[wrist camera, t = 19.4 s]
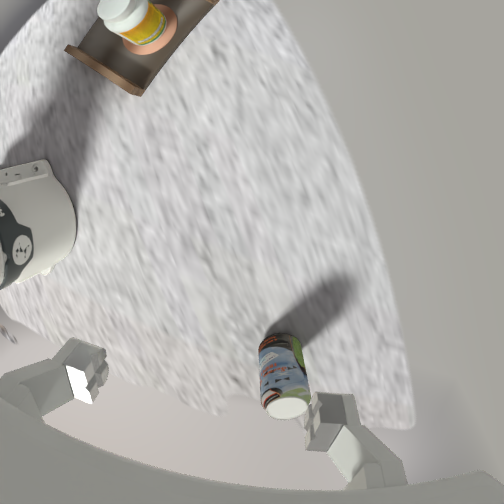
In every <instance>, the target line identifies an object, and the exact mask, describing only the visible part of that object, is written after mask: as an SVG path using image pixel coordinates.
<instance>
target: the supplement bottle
mask: <svg viewBox="0 0 504 504" xmlns="http://www.w3.org/2000/svg"><path fill="white" fill-rule="evenodd" d="M97 13H98V16H99V17H100V18H102V19H103V20H104V24H105V26H106V27H107V28H108V29H109V30H110V31H112V32H114V33H115V34H117V35H119V36H121V37H123V38H125V39H126V40H128V41H130V42H131V43H133V44H135V45H139V46H145V45H148V44H151V43H153V42H155V41H157V40H158V39H159V38H160V37H161V36H162V35H163V33H164V31H165V29H166V24H167V22H166V18H165V16H164V15H163V13H162V12H161V11H160V10H158V9H157V8H156V7H155V6H154V5H153V4H152V3H151V2H150V1H149V0H100V2H99V4H98V7H97Z"/></svg>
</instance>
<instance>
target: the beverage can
mask: <svg viewBox="0 0 504 504" xmlns="http://www.w3.org/2000/svg"><path fill="white" fill-rule="evenodd" d="M258 350H259V372H260V392H261V404H262V406H263V408H264V409H265V410H266V412H267V414H268V415H269V416H270V417H271V418H273V419H277V420H291V419H295V418H298V417H300V416H301V415H303V414H304V413H305V412H306V410H307V407H308V405H309V403H310V399H311V394H310V389H309V384H308V379H307V374H306V369H305V364H304V359H303V354H302V349H301V344H300V342H299V341H298V339H297V338H295V337H294V336H292V335H289V334H275V335H271V336H269V337H267V338H266V339H264V340H263V341H262V342H261V344H260V346H259V349H258Z"/></svg>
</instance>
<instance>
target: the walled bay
mask: <svg viewBox="0 0 504 504" xmlns="http://www.w3.org/2000/svg"><path fill="white" fill-rule="evenodd" d="M149 1H150V2H151V3H152V4H153V5H154V6H155V7H156V8H157V9H158V10H160V11H161V12H162V13H163V15H164V16H165V18H166V22H167V24H166V29H165V31H164V33H163V35H162V36H161V37H160V38H159V39H158V40H157V41H155V42H153V43H151V44H148V45H145V46H139V45H135V44H133V43H131V42H130V41H128V40H126V39H125V38H123V37H121V36H119V35H117V34H115V33H114V32H112V31H110V30H109V29H108V28H107V27H106V26H105V24H104V20H103V19H102V18H100V17H99V18H98V19H97V20H96V22H95V23H94V25H93V26H92V27H91V29H90V30H89V32H88V33H87V34H86V36H85V37H84V39H83V40H82V42H81V43H80V45H79V46H78V48H77V47H74V46H71V45H67V47H66V48H65V50H64V51H65V52H67V53H69V54H70V55H72V56H73V57H75V58H77V59H78V60H80V61H81V62H83V63H84V64H86V65H88V66H89V67H91V68H92V69H94V70H95V71H97V72H98V73H100V74H101V75H103V76H104V77H106V78H107V79H109V80H110V81H112V82H113V83H115V84H116V85H118V86H119V87H121V88H122V89H124V90H125V91H127V92H128V93H130V94H132V95H136V96H140V97H141V96H142V94H143V93H144V91H145V90H146V89H147V87H148V86H149V84H150V83H151V82H152V80H153V79H154V77H155V76H156V75H157V73H158V72H159V71H160V69H161V68H162V67H163V65H164V64H165V63H166V61H167V60H168V59H169V58H170V56H171V55H172V54H173V53H174V51H175V50H176V49H177V48H178V46H179V45H180V44H181V43H182V42H183V40H184V39H185V38H186V37H187V36H188V34H189V33H190V32H191V31H192V30H193V29H194V27H195V26H196V25H197V24H198V23H199V22H200V21H201V20H202V19H203V17H204V16H205V15H206V14H207V13H208V12H209V11H210V10H211V9H212V8H213V7H214V6H215V5H216V4H217V3H218V1H219V0H149Z"/></svg>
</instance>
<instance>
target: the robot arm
mask: <svg viewBox="0 0 504 504" xmlns="http://www.w3.org/2000/svg"><path fill="white" fill-rule="evenodd" d="M37 167H38V170H37ZM75 236H76V218H75V213H74V209H73V205H72V202H71V200H70V198H69V196H68V194H67V192H66V190H65V189H64V187H63V186H62V185H61V184H60V183H59V182H58V180H57V179H56V178H55V176H54V175H53V172H52V169H51V167H50V164H49V163H48V161H47V160H45V159H43V160H38V161H34V162H29V163H25V164H21V165H17V166H13V167H9V168H5V169H1V170H0V290H1V289H4V288H6V287H8V286H9V285H11V284H12V282H16V283H22V282H24V281H26V280H27V279H29V278H31V277H33V276H35V275H37V274H39V273H40V274H42V275H44V276H46V275H48V274H50V273H51V272H52V270H53V269H54V266H55V265H56V264H57V263H58V262H60V261H61V260H63V259H64V258H66V257H67V255H68V254H69V253H70V251H71V249H72V247H73V245H74V241H75ZM106 356H107V355H106V350H105V349H104V348H102V347H99V346H96V345H93V344H90V343H88V342H85V341H82V340H79V339H76V338H74V337H73V338H70V339H69V340H68V341H67V342H66V344H65V345H64V346H63V347H62V348H61V349H60V350H59V352H58V353H57V354H56V355H55V356H54V357H53V358H52V360H51V359H46V360H43V361H41V362H37V363H34V364H31V365H28V366H25V367H22V368H20V369H17V370H14V371H11V372H8V373H5V374H4V375H3V376H2V377H1V378H0V504H504V485H503V484H502V483H501V482H499V481H498V480H497V479H496V478H494V477H493V476H492V475H490V474H488V473H487V472H485V471H483V470H477V471H472V472H469V473H465V474H461V475H456V476H453V477H448V478H443V479H439V480H433V481H428V482H422V483H416V484H410V485H408V483H407V479H406V475H405V471H404V467H403V463H402V460H400V458H398V457H397V456H396V455H395V454H394V453H393V452H392V451H391V450H390V449H389V448H388V447H387V446H386V445H385V444H383V443H382V442H381V441H380V440H379V439H378V438H377V437H376V436H375V435H374V434H373V433H372V432H371V431H370V430H369V429H368V428H367V427H366V426H365V425H361V423H360V419H359V414H358V410H357V406H356V402H355V398H354V395H353V394H339V393H326V392H315V393H314V394H313V396H312V398H311V399H312V404H310V405H309V406H308V407H307V410H306V413H305V418H304V428H305V429H306V430H307V434H306V436H305V448H306V450H308V451H321V452H327V454H328V456H329V457H330V458H331V460H332V461H333V462H334V464H335V465H336V467H337V468H338V469H339V471H340V472H341V473H342V475H343V476H344V478H345V479H346V480H347V482H348V485H347V486H346V487H345V488H344V489H343V490H332V491H331V490H330V491H321V490H290V489H275V488H265V487H256V486H247V485H240V484H233V483H226V482H220V481H215V480H209V479H204V478H199V477H195V476H190V475H186V474H181V473H177V472H173V471H169V470H166V469H162V468H158V467H155V466H151V465H148V464H144V463H141V462H138V461H135V460H132V459H129V458H126V457H123V456H120V455H117V454H114V453H112V452H109V451H106V450H103V449H101V448H98V447H96V446H93V445H91V444H89V443H86V442H84V441H81V440H79V439H77V438H75V437H72V436H70V435H68V434H66V433H63V432H61V431H59V430H57V429H55V428H53V427H51V426H49V425H47V424H45V422H44V420H43V418H42V416H44V415H46V414H47V413H49V412H51V411H53V410H55V409H56V408H58V407H60V406H62V405H63V404H65V403H67V402H69V401H70V400H72V399H74V397H75V398H78V399H80V400H83V401H86V402H89V403H91V404H92V403H93V402H94V400H95V398H96V397H97V395H98V393H99V391H98V388H99V387H101V386H103V385H104V384H105V382H106V380H107V377H108V371H109V368H108V364H107V362H106V361H105V360H104V359H105V358H106Z"/></svg>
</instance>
